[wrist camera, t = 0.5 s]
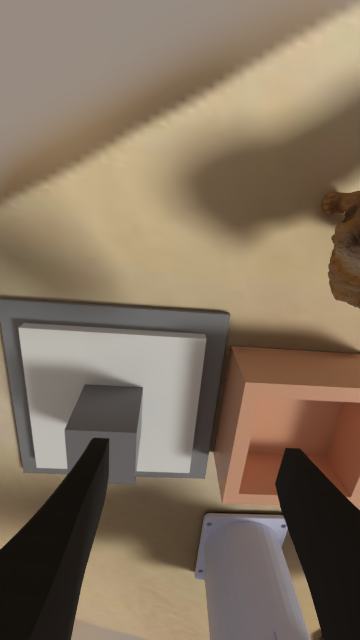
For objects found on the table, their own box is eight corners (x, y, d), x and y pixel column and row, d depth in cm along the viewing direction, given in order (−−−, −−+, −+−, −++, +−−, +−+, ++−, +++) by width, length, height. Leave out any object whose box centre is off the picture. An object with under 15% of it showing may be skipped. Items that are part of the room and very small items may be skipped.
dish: (329, 457, 26) (360, 507, 22) (213, 452, 25) (222, 503, 21) (366, 354, 22) (411, 391, 18) (230, 346, 22) (245, 382, 17)
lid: (188, 464, 25) (193, 528, 20) (40, 459, 24) (9, 524, 20) (205, 333, 21) (215, 376, 16) (23, 322, 20) (-23, 363, 15)
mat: (204, 474, 26) (204, 478, 26) (25, 468, 25) (23, 472, 25) (228, 312, 21) (230, 314, 20) (0, 297, 20) (-3, 299, 19)
